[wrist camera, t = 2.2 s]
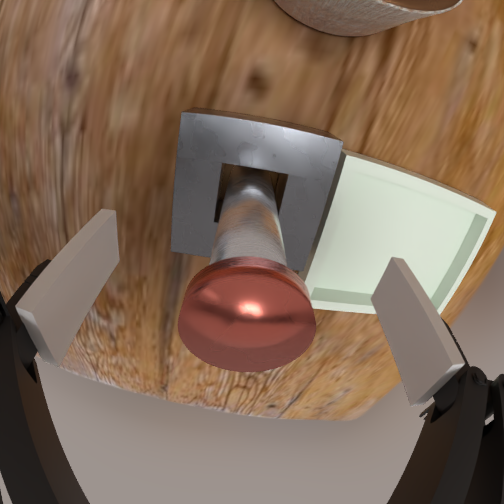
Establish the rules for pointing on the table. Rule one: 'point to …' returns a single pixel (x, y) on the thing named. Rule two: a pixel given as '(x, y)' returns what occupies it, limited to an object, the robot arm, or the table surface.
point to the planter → (361, 13)
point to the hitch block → (256, 156)
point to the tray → (390, 234)
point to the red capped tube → (247, 287)
